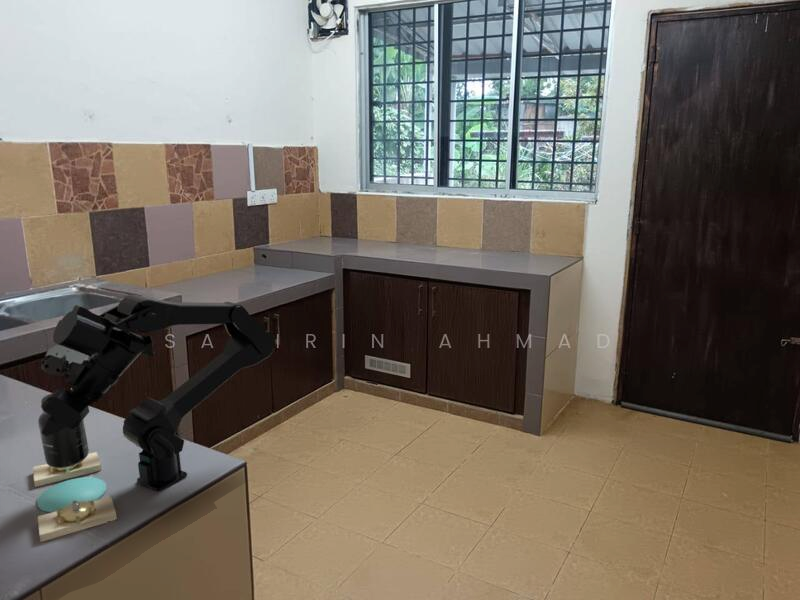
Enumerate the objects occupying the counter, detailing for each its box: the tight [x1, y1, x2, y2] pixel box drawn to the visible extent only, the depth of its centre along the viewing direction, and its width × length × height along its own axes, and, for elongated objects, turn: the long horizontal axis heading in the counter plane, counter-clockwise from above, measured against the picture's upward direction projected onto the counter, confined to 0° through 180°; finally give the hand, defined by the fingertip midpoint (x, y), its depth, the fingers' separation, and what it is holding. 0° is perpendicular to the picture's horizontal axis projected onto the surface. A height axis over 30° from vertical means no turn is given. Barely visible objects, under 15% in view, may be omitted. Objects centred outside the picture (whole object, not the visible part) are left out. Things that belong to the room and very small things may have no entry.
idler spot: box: [36, 476, 107, 513], centre depth 109 cm, size 11×11×1 cm
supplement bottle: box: [37, 392, 90, 468], centre depth 106 cm, size 7×7×12 cm
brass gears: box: [50, 461, 96, 525], centre depth 108 cm, size 25×6×3 cm, turn 32°
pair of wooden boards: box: [32, 451, 118, 543], centre depth 109 cm, size 25×11×1 cm, turn 32°
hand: (53, 425), depth 106 cm, fingers closed on supplement bottle, 6 cm apart
